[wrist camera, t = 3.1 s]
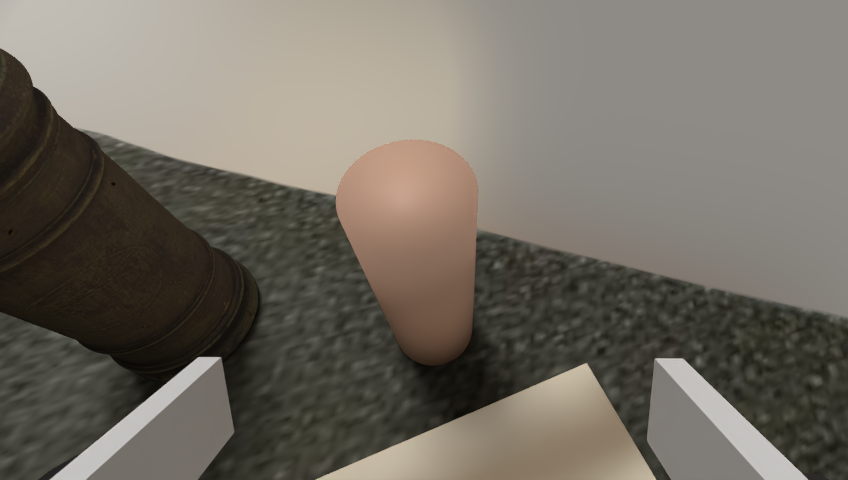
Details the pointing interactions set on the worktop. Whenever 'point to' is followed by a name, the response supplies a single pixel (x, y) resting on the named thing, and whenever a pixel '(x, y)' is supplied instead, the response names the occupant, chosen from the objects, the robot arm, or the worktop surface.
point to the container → (105, 248)
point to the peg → (416, 242)
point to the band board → (519, 441)
